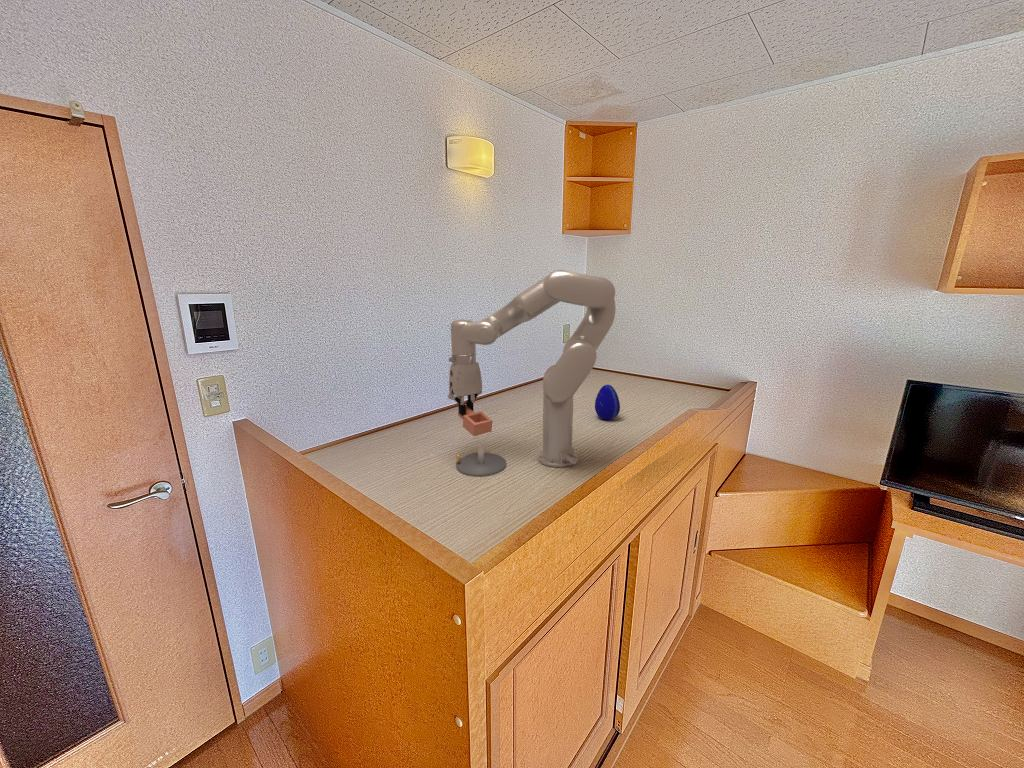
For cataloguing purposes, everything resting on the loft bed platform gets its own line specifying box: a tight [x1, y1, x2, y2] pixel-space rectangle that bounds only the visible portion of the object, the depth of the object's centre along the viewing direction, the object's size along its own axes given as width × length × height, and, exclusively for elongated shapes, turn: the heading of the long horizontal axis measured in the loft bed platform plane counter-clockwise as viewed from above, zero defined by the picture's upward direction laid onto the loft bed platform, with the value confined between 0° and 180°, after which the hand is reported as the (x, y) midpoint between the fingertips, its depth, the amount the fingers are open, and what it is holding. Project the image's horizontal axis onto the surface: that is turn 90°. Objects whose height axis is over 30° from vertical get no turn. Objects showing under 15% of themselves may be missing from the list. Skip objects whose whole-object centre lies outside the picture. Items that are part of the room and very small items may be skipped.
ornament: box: [594, 384, 621, 420], centre depth 173 cm, size 11×9×15 cm
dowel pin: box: [455, 453, 461, 464], centre depth 131 cm, size 1×1×3 cm
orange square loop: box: [457, 406, 493, 437], centre depth 132 cm, size 14×7×4 cm, turn 37°
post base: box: [455, 443, 507, 478], centre depth 131 cm, size 16×16×7 cm
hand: (466, 414), depth 135 cm, fingers closed on orange square loop, 2 cm apart
